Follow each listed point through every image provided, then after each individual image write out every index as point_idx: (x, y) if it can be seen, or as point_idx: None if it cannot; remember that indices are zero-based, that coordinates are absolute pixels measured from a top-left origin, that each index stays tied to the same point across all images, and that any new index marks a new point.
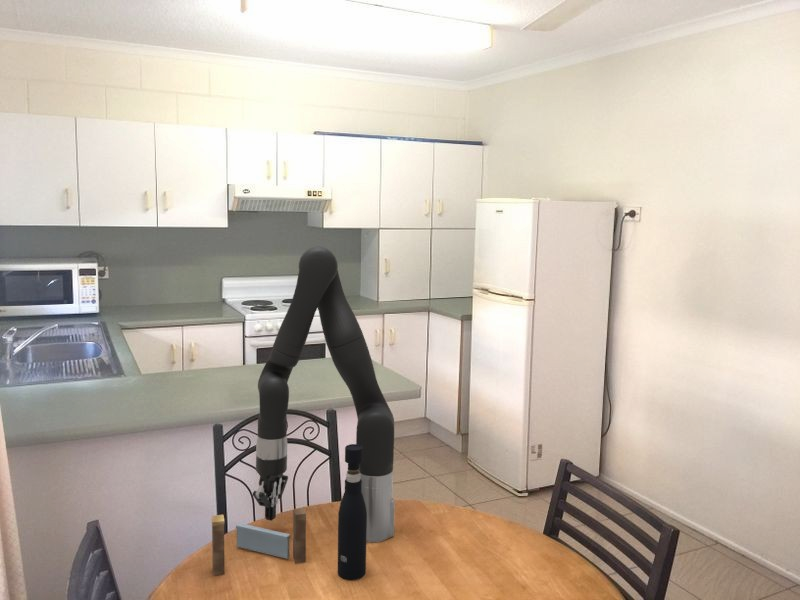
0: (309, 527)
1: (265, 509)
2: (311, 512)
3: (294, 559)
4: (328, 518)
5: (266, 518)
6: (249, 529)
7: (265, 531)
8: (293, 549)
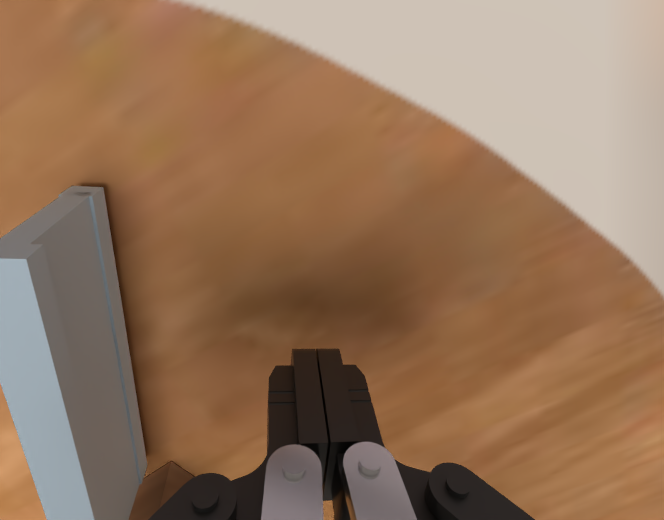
0: (456, 402)
1: (268, 433)
2: (613, 346)
3: (143, 484)
4: (555, 428)
5: (292, 357)
6: (8, 380)
7: (47, 492)
8: (154, 506)
